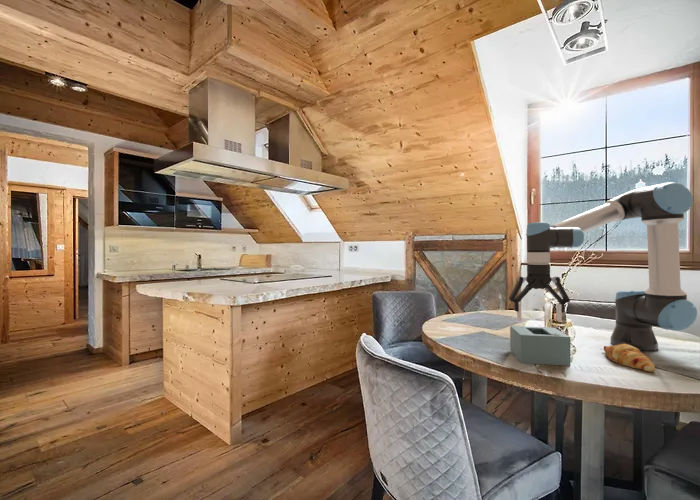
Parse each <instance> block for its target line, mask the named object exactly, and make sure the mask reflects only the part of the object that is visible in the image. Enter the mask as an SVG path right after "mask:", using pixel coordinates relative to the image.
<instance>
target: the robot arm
mask: <svg viewBox="0 0 700 500" xmlns="http://www.w3.org/2000/svg"><path fill="white" fill-rule="evenodd" d="M693 198H694V197H693V195H692V192H691V191H690V189H689V188H688V187H686V186H685V185H683V184H681V183H678V182H663V183H658V184H654V185H650V186H645V187H640V188H638V187H637V188H635V189H633V190H630V191H627V192H625V193H622V194H620V195H618V196H615V197H613V198H611V199H609V200H606V201H605V202H604V203H603V205H600V206H597V207H595V208H592V209H590V210H588V211H585V212H583V213H580V214H577V215H575V216H572V217H569V218H568V219H567V218H566V219H565V220H562V221H560V222H557V223H554V224H550V222H547V221H539V222H538V221H536V222H530V223H527V225H526V234H525V235H526V263H527V265H526V277H523V276H518V277H517V282H516V284H515V286H514V288H513V290H512V291H511V293H510V295H509V296H508V300H509V301H510V302H512V303H513V310H514V311H515V312H516V320H518V321H519V322H521V321H522V303H521V302H520V301H522V300H523V299H524V297H526V295H527V294H528V293H530V291H531V290H532V289H534V290H538V289H539V290H540V289H541V290H547V291H548V293H549V294H551V296H552V297H554V299H555V300H556V301H557V302H556V304H555V305H556V307H555V308H556V309H555V310H556V313H555V314H556V317H555V318H556V321H557V322H559V323H562V320H563V319H562V317H563V315H562V314H563V313H565V305H566V304H567V303H570V302H571V299H570V297H569V295H568V294H567V292H566V290H565V288H564V287H563V285H562V283H561V282H562V281H561V278H560V277H559V276H553V277H552V276H551V265H550V263H551V248H570V249H571V248H578V247H579V248H580V247H581V246H582V244H584V241H585V233H587V232H589V231H591V230H595V229H597V228H600V227H602V226H604V225H607V224H609V223H611V222H614V223H618V222H621V221H624V220H628V219H635V218H641V222H642V223H643V224H645V225H646V232H647V233H646V234H647V235H646V236H647V258H648V259H647V260H648V263H647V264H648V265H647V266H648V284H649V285H648V286H649V287H648V288H647V289H645V290H618V291H617V292H616V294H615V299H614V300H615V301H614V302H615V326H614V328H613V331H612V333H611V336H610V344H611V345H612V346H615V345H619V344H624V343H625V344H628V345H631V346H633V347H635V348H637V349H639V350H640V351H642V350H655V351H657V350H656V349H658V350H659V343H658V339H657V338H656V335H655V333H654V330H653V327H656V328H660V329H663V330H670V331H673V332H674V331H676V332H681V331H684V330H687V329H689V328H690V327H691V325H693V324H694V323H695V321H696V319H697V316H698V310H697V307H696V305H694V303H693V302H692V301H689V300H688V297H687V296H688V295H687V292H685V291H684V290H682V287H681V264H680V262H681V261H680V239H679V235H680V234H679V224H680V222H682V221H683V220H684V219H685V216H684V215H685V214H684V213H686V212H688V211H689V210H690V209H691V207H692V206H693V201H694V199H693ZM525 282H527V284H526V285H525V287H524V288H523V289H522V291H520V290H521V287H522V286H523V283H525ZM551 282H552V283H554V285H555V287H556V289H557V291H558V292H559V294H560V295H561V296H560V295H559V294H558V293H557V292H556V290H555V289H554V288H553V287H552V286H551V285H550V283H551ZM519 291H520V293H519Z"/></svg>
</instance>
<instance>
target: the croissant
mask: <svg viewBox="0 0 700 500" xmlns="http://www.w3.org/2000/svg"><path fill="white" fill-rule="evenodd" d="M603 351H604V354H605V356H606V357H607V358H608V359H609V360H611V361H613V362H615V363H617V364H618V365H621V366H624V365H625V367H628V366H630V368H631V369H632V368H633V369H636V368H637V370H642V371H643V372H650V373H652V372H654V371H656V366H655V364H654V362H653V361H652V360H651V358H650V357H649V355H647V354H646V353H643V352H641V351H642V350H639V349H637V348H635V347H633V346H631V345H628V344H625V343H624V344H619V345H609V346H606V345H604V346H603Z"/></svg>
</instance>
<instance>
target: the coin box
mask: <svg viewBox="0 0 700 500" xmlns="http://www.w3.org/2000/svg"><path fill="white" fill-rule="evenodd" d="M509 333H510V334H509V337H510V338H509V342H510V343H509V344H510V347H509V348H510V349H509V351H510V353H511V354H513V356H514V357H515V358H516V359H517V360H518V361H519V363H520V364H533V365H534V364H535V365H537V364H538V365H550V366H551V365H553V366H571V336H569V335H568V334H566V333H564V332H562V331H561V330H560V329H557V327H544V326H521V325H520V326H519V325H510V326H509Z"/></svg>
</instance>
